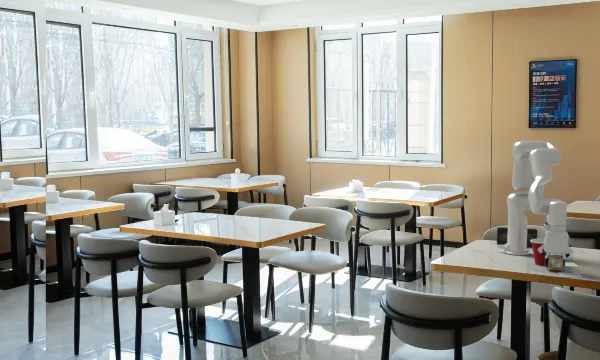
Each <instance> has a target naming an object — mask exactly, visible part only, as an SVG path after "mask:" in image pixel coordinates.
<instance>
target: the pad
mask: <svg viewBox="0 0 600 360" xmlns="http://www.w3.org/2000/svg"><path fill="white" fill-rule="evenodd" d="M564 267H572V268H574V267H576V268H578V267H579V266H578V264H576V263H575V262H570V261H569V262H567V261H565V266H564Z"/></svg>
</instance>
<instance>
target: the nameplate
mask: <svg viewBox="0 0 600 360" xmlns="http://www.w3.org/2000/svg"><path fill="white" fill-rule="evenodd" d="M507 239H508V227H503V226H502V227H501V226H500V227H499V226H498V227H497V228H496V245H497V246H498V245H504V244H506V243H507ZM532 239H538V229H537V228H527V245H526V248H533V247H532V244H531V242H530V240H532Z"/></svg>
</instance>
